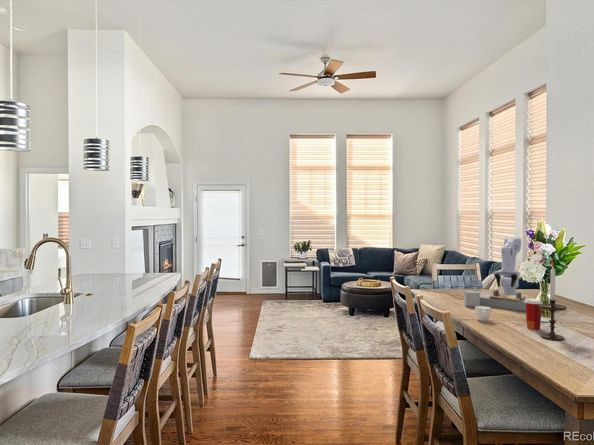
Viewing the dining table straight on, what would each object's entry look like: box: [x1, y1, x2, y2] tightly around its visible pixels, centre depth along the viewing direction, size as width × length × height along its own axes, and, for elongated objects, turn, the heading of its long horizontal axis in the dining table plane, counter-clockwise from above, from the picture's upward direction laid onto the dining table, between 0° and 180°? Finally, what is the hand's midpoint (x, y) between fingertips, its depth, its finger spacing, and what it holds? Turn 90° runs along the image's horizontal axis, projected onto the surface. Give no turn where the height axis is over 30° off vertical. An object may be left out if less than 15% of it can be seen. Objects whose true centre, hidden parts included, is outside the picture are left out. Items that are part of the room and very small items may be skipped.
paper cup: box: [525, 298, 544, 331], centre depth 219 cm, size 8×8×14 cm
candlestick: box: [539, 260, 567, 342], centre depth 202 cm, size 11×11×35 cm
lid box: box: [480, 293, 529, 312], centre depth 275 cm, size 16×32×5 cm, turn 48°
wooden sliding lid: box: [489, 289, 510, 299], centre depth 277 cm, size 15×8×4 cm, turn 138°
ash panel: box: [503, 291, 526, 301], centre depth 272 cm, size 15×8×4 cm, turn 138°
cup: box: [474, 306, 492, 322], centre depth 236 cm, size 8×10×7 cm
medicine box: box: [463, 291, 481, 308], centre depth 275 cm, size 8×4×9 cm, turn 84°
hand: (505, 286), depth 274 cm, fingers open, 7 cm apart
